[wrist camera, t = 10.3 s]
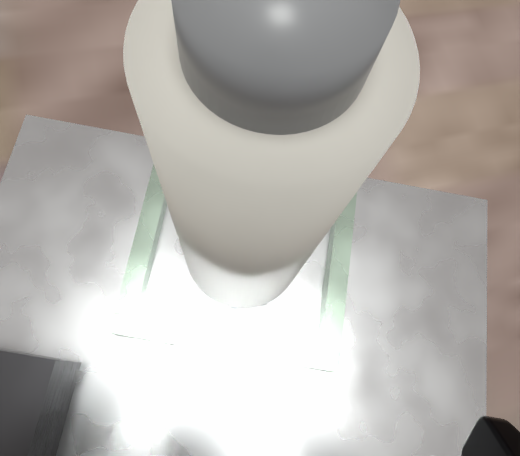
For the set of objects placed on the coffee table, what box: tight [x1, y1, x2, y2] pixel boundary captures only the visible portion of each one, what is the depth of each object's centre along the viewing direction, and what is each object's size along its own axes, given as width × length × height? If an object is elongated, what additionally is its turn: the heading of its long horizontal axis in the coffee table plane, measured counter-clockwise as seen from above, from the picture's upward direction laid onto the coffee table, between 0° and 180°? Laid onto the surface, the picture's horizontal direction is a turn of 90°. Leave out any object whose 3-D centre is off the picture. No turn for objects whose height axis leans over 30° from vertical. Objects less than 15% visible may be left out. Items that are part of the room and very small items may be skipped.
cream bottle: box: [123, 0, 420, 308], centre depth 13 cm, size 5×5×14 cm
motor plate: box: [0, 115, 487, 456], centre depth 19 cm, size 16×22×6 cm
